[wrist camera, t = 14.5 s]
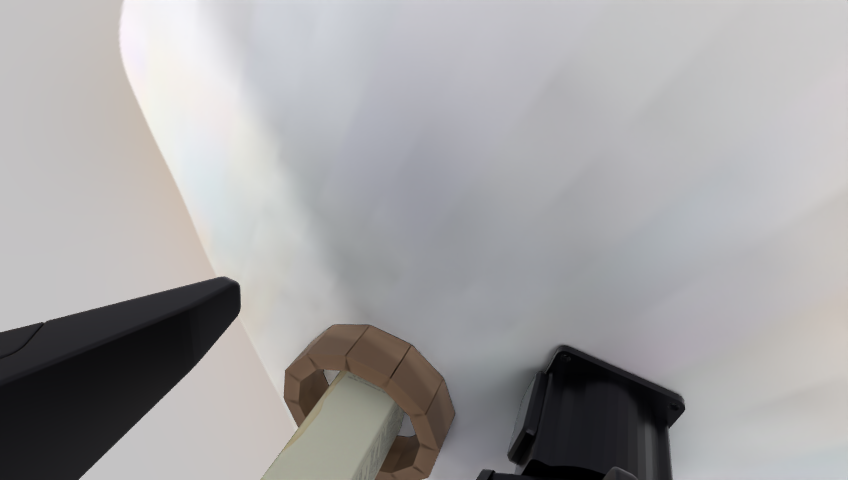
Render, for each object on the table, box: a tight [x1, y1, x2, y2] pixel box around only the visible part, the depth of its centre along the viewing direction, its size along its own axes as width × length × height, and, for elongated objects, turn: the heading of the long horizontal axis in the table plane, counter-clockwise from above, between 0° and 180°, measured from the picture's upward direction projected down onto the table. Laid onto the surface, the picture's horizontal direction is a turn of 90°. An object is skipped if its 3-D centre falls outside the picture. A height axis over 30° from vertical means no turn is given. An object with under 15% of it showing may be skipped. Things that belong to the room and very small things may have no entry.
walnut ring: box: [284, 325, 455, 480], centre depth 30 cm, size 11×11×3 cm
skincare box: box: [261, 371, 404, 480], centre depth 26 cm, size 6×4×12 cm
